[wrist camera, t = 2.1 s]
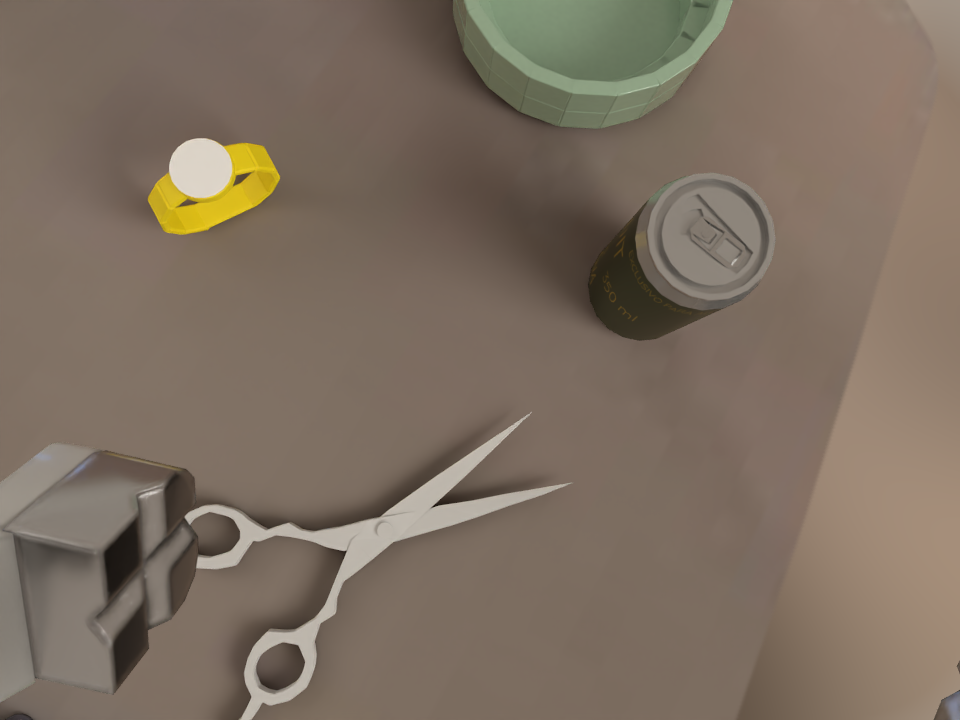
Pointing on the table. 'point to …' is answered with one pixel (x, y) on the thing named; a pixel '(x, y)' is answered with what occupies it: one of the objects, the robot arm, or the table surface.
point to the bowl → (587, 53)
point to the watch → (211, 184)
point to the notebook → (19, 717)
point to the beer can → (683, 257)
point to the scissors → (354, 553)
